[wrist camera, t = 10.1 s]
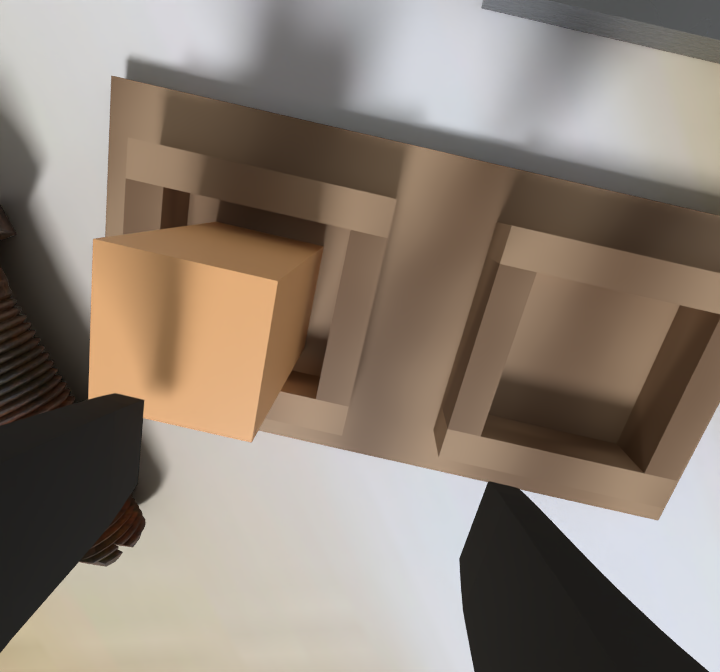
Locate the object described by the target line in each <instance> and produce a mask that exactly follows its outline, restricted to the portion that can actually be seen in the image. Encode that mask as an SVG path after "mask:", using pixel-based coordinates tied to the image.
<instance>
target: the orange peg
mask: <svg viewBox="0 0 720 672" xmlns="http://www.w3.org/2000/svg"><path fill="white" fill-rule="evenodd" d="M323 248H324V246H320V245H315V244H311V243H307V242H302V241H298V240H294V239H289V238H285V237H280V236H276V235H272V234H267V233H263V232H259V231H254V230H250V229H246V228H241V227H237V226H233V225H228V224H224V223H220V222H210V223H203V224H196V225H189V226H182V227H174V228H167V229H160V230H153V231H146V232H139V233H131V234H124V235H117V236H110V237H103V238H96V239H93V260H92V293H91V325H90V357H89V389H88V399H92V398H96V397H100V396H104V395H108V394H113V393H117V394H122V395H126V396H130V397H134V398H139V399H143V400H144V412H143V418H145V419H150V420H154V421H159V422H163V423H168V424H172V425H176V426H181V427H185V428H190V429H194V430H199V431H203V432H207V433H212V434H216V435H221V436H225V437H230V438H234V439H238V440H243V441H247V442H252V441H253V439H254V437H255V436H256V434H257V432H258V430H259V428H260V427H261V425H262V423H263V421H264V419H265V418H266V416H267V414H268V412H269V410H270V409H271V407H272V405H273V403H274V401H275V400H276V398H277V396H278V394H279V392H280V391H281V389H282V387H283V385H284V384H285V382H286V380H287V378H288V376H289V375H290V373H291V371H292V369H293V367H294V366H295V364H296V362H297V360H298V358H299V357H300V355H301V353H302V351H303V349H304V347H305V342H306V337H307V331H308V326H309V321H310V316H311V310H312V305H313V300H314V295H315V290H316V284H317V279H318V274H319V269H320V263H321V258H322V253H323Z"/></svg>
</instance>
